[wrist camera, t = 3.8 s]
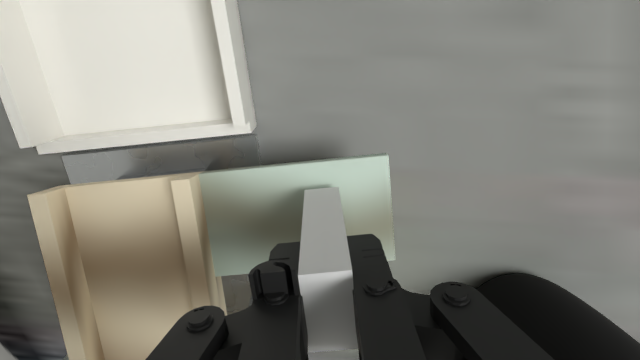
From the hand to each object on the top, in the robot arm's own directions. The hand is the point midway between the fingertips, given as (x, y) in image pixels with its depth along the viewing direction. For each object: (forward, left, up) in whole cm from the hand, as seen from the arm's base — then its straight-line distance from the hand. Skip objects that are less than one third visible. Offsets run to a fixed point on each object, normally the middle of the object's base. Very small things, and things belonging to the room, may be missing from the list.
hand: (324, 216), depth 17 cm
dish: (-9, -9, -6) cm, 14 cm away
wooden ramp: (+8, -5, -1) cm, 9 cm away
